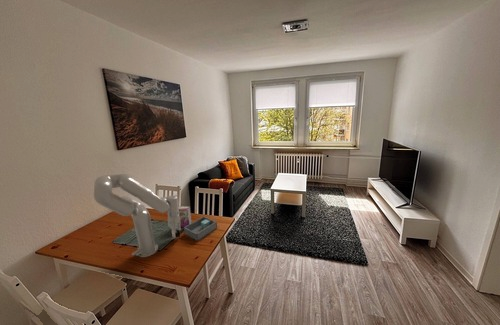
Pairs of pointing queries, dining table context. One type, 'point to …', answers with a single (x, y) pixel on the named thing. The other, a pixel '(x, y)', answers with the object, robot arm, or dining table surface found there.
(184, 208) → the candy bar box
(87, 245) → the dining table surface
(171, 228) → the white cylinder
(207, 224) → the teal cube
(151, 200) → the robot arm
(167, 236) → the dining table surface
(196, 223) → the tote
